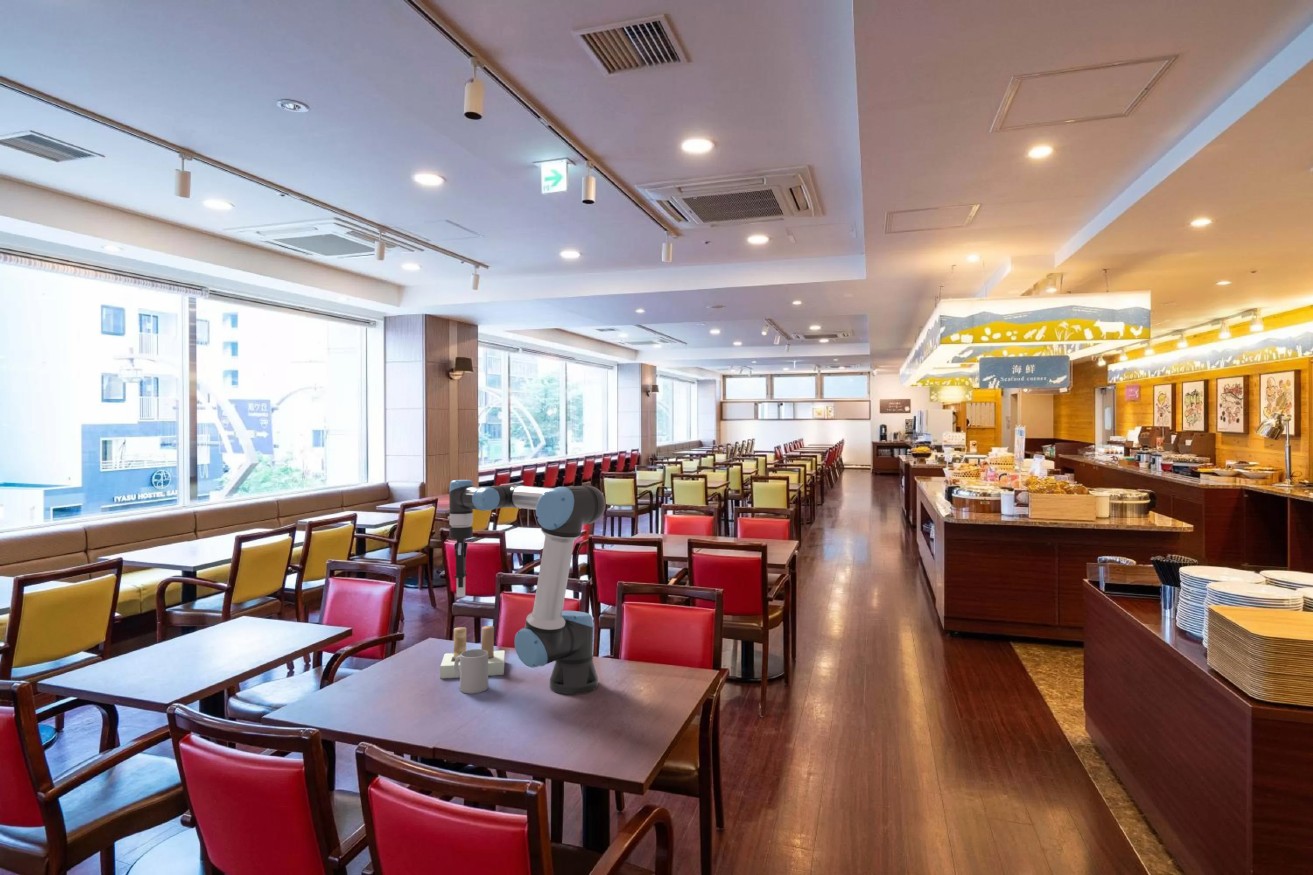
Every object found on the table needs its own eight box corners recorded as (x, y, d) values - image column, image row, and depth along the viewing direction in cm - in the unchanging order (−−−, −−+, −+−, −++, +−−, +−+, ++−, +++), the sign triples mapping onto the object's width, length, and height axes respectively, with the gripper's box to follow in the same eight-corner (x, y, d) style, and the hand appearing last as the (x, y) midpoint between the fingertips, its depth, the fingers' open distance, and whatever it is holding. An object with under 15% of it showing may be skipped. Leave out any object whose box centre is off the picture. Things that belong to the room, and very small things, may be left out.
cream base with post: (504, 661, 232) (504, 621, 232) (503, 674, 219) (503, 631, 219) (444, 665, 228) (445, 624, 228) (440, 678, 215) (440, 635, 215)
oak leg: (466, 668, 225) (467, 626, 225) (465, 672, 221) (466, 630, 221) (454, 668, 224) (454, 627, 224) (452, 673, 220) (453, 630, 220)
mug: (493, 686, 209) (494, 651, 209) (475, 695, 201) (475, 659, 201) (464, 680, 214) (464, 645, 214) (445, 688, 206) (445, 653, 206)
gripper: (451, 523, 229) (451, 592, 228) (447, 528, 216) (447, 601, 216) (474, 523, 230) (473, 591, 230) (471, 527, 217) (471, 600, 217)
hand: (460, 596), depth 223 cm, fingers closed
